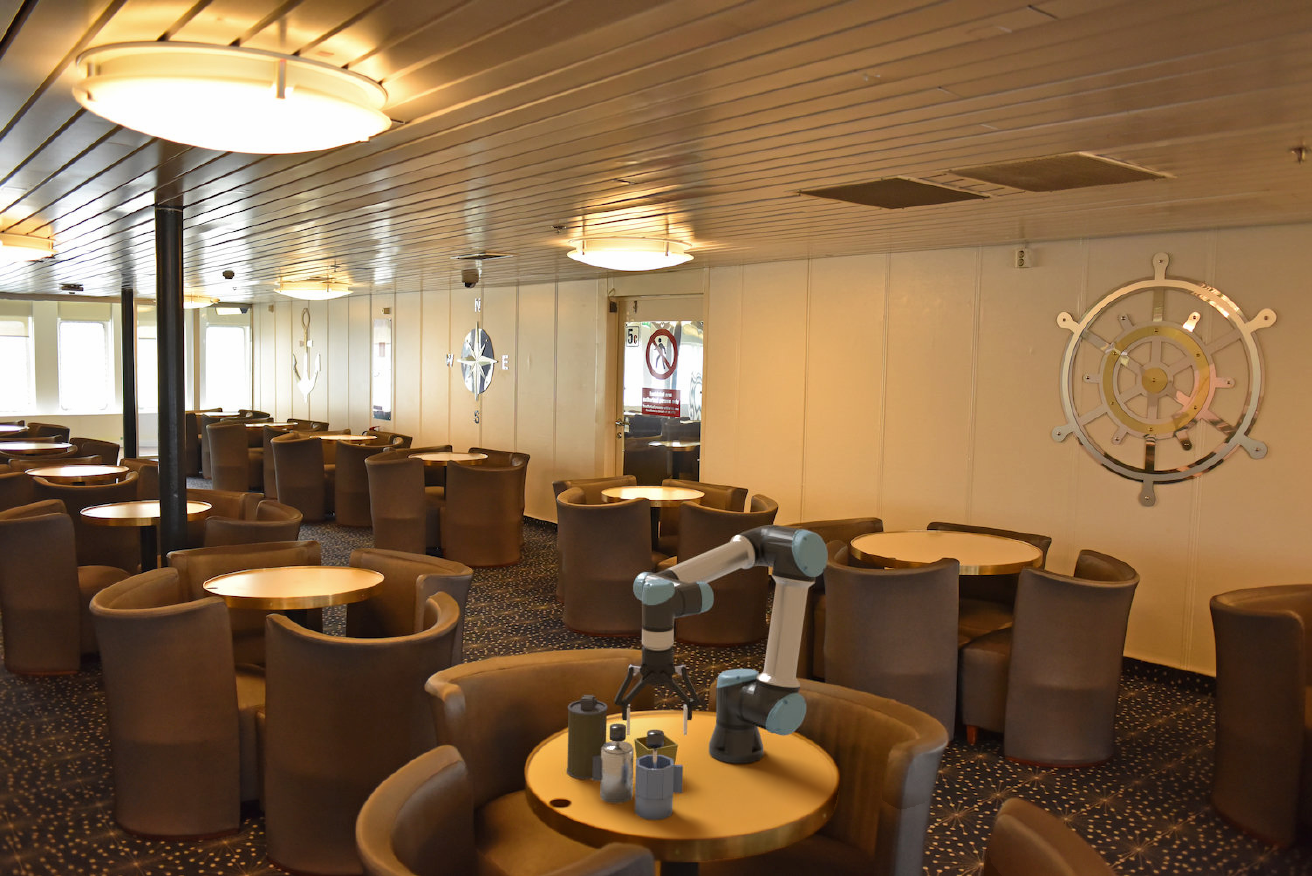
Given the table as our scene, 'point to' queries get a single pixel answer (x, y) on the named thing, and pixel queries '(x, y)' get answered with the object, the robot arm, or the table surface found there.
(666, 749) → the flower pot
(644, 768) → the blue mug
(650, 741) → the plunger
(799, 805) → the table surface
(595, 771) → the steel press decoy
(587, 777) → the canister
